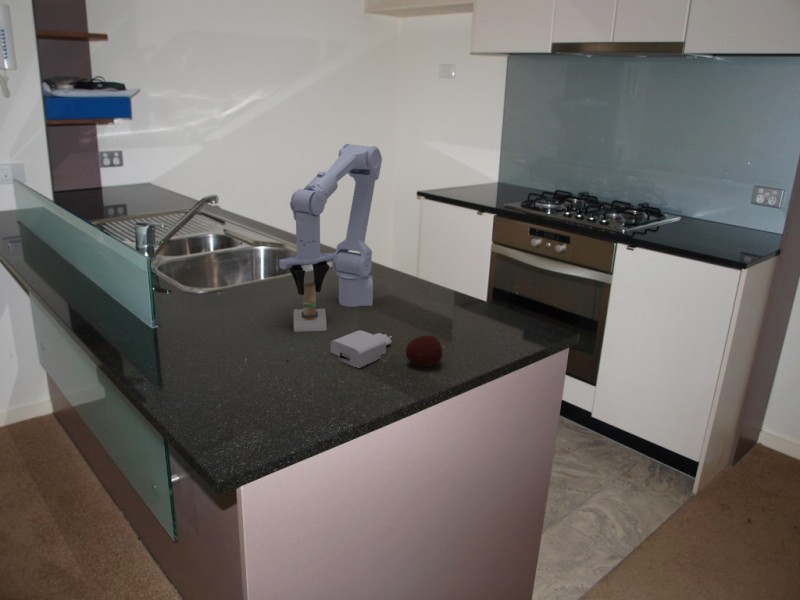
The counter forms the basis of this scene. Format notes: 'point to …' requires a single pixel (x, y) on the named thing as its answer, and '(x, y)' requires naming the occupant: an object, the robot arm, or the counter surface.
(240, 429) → the counter surface
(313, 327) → the stand
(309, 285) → the post
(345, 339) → the charger
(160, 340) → the counter surface
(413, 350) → the potato
